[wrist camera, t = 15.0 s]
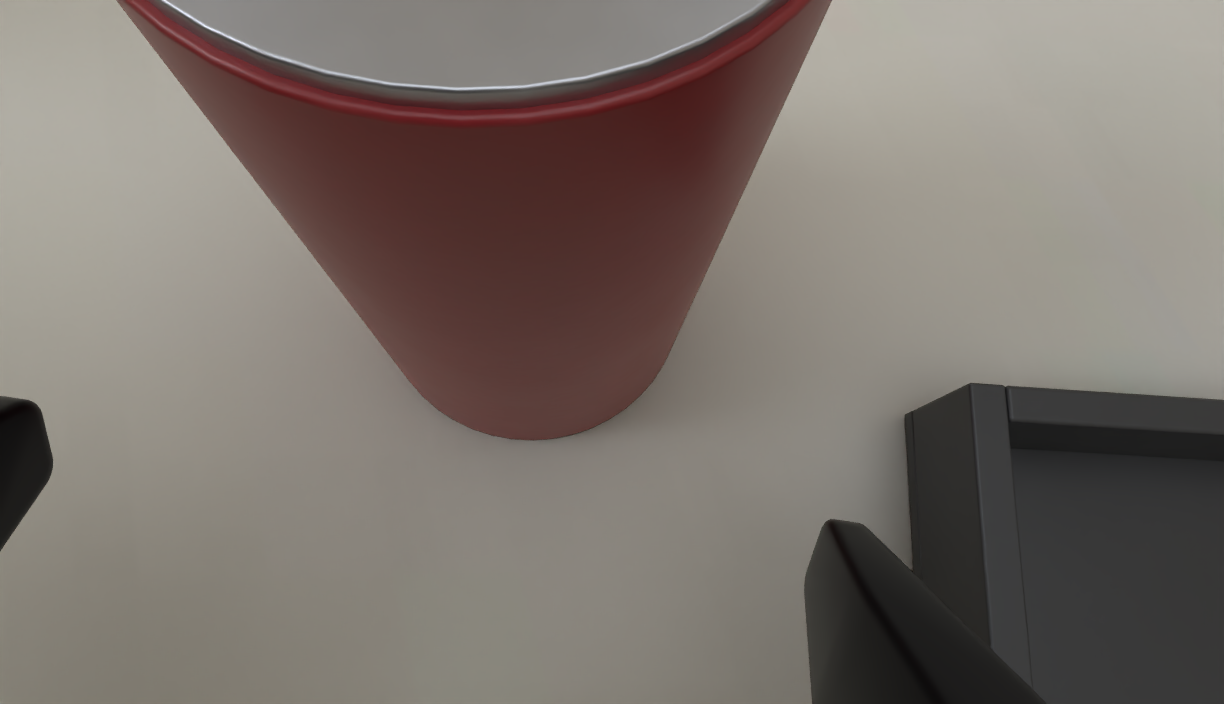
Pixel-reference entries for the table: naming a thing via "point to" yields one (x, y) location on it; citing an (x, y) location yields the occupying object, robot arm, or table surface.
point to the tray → (1078, 536)
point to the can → (500, 172)
